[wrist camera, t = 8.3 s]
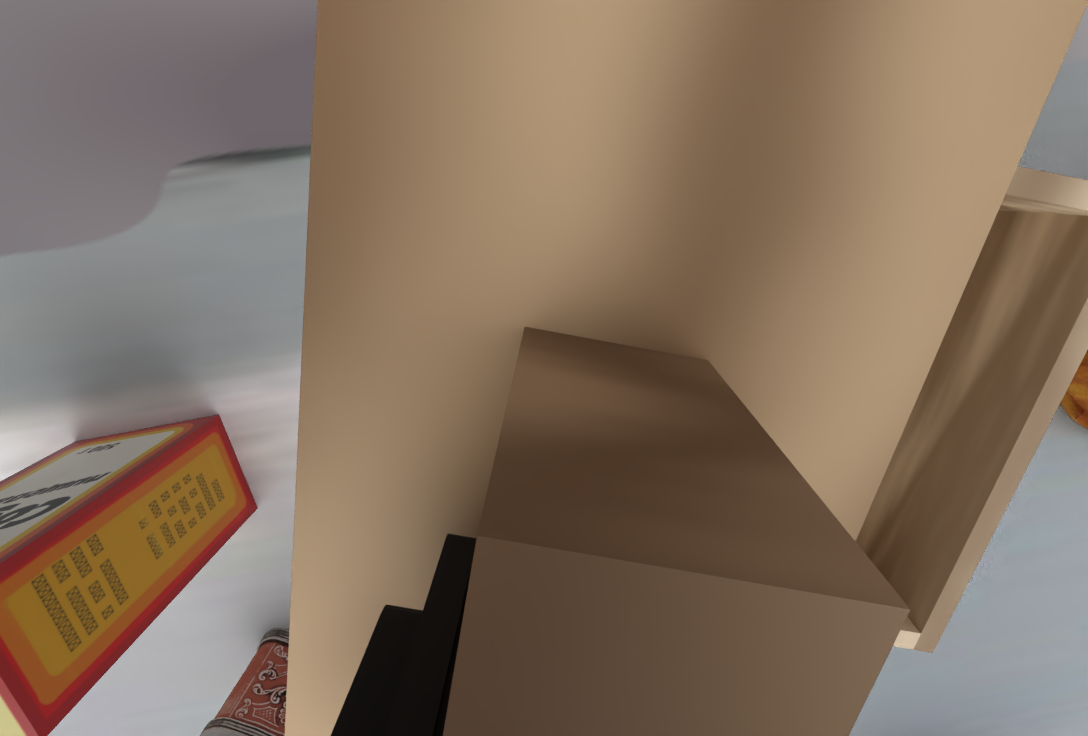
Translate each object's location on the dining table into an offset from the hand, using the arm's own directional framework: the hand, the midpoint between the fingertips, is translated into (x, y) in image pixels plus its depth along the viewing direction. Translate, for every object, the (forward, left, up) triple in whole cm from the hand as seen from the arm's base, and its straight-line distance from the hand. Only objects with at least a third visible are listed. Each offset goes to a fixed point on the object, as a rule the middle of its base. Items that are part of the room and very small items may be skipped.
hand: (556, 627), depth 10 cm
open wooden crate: (-16, 0, -23) cm, 28 cm away
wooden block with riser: (0, 0, -2) cm, 2 cm away
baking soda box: (+22, +14, -23) cm, 35 cm away
